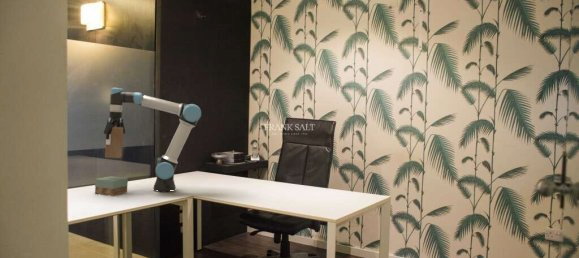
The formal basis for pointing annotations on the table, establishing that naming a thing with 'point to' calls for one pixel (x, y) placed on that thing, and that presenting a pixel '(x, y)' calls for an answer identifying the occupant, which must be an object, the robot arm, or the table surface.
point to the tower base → (110, 191)
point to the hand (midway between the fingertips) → (114, 144)
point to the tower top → (111, 182)
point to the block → (115, 143)
